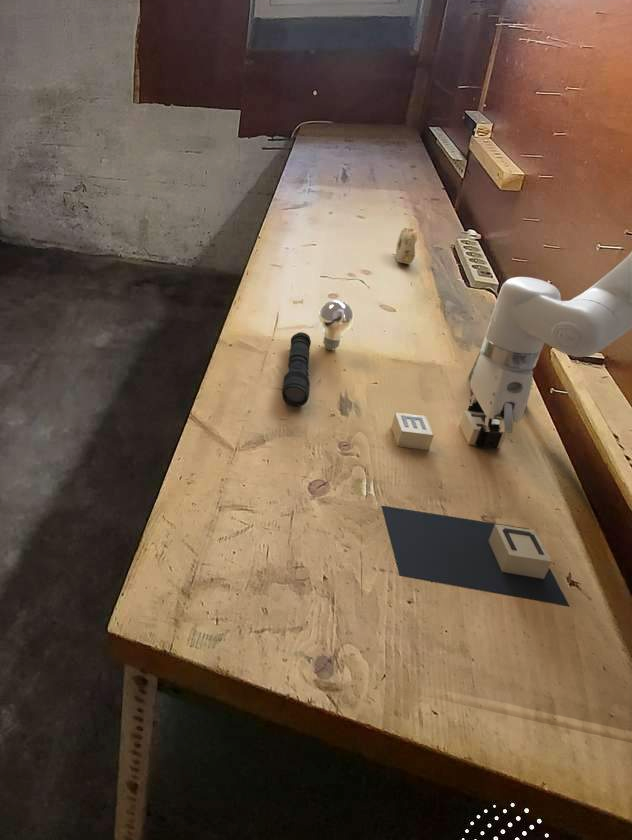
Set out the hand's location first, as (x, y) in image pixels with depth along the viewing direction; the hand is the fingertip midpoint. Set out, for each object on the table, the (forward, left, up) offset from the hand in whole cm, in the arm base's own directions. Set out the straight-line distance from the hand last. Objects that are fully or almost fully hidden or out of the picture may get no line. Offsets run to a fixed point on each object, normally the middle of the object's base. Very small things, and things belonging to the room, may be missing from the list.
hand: (479, 434), depth 100 cm
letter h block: (0, 0, 0) cm, 0 cm away
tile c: (+4, +26, 0) cm, 26 cm away
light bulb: (+22, -24, -1) cm, 33 cm away
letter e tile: (+12, +3, 0) cm, 12 cm away
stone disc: (-4, -75, -1) cm, 75 cm away
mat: (+10, +26, 0) cm, 28 cm away
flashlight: (+30, -12, -1) cm, 32 cm away
